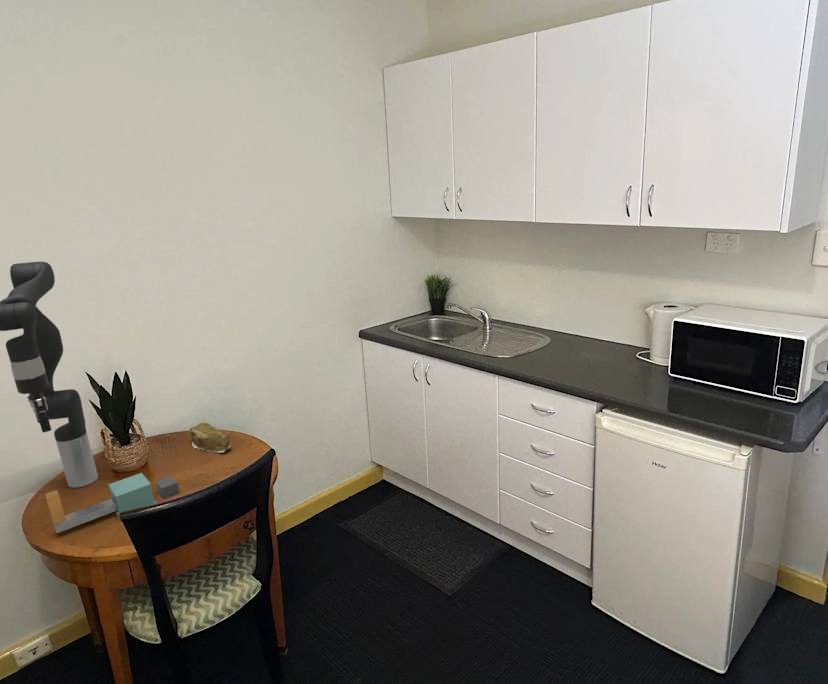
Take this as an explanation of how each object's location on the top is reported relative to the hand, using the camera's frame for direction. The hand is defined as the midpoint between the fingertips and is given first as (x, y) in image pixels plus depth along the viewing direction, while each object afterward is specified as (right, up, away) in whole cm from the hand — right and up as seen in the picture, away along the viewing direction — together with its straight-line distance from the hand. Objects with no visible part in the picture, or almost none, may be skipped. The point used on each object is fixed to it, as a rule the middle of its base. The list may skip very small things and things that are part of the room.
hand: (44, 426), depth 166 cm
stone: (+29, -15, +54) cm, 63 cm away
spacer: (+24, -24, +21) cm, 39 cm away
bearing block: (+18, -27, +16) cm, 36 cm away
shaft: (+10, -28, +10) cm, 31 cm away
